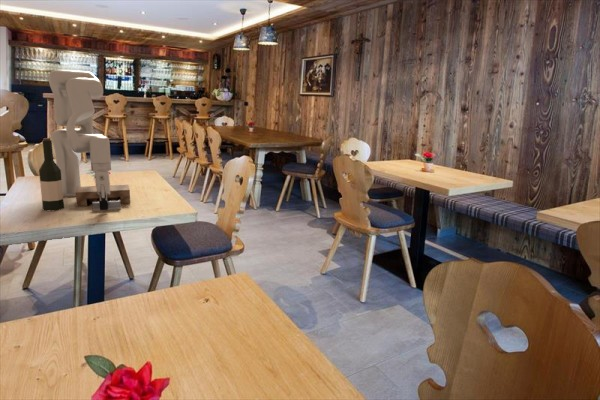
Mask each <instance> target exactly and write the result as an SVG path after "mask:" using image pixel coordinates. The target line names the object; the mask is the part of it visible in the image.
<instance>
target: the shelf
mask: <svg viewBox="0 0 600 400" xmlns="http://www.w3.org/2000/svg"><path fill="white" fill-rule="evenodd" d="M107 199H120V204H121V205H130V204H131V193H130V186H129V184H113V185H111V184H110V194H107ZM94 200H100V195H98V193H97V188H96V185H91V186H90V185H89V186H81V187H77V189H76V196H75V203H76V207H77V208H80V207H88V202H89V203H93V202H94Z"/></svg>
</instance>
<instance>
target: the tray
mask: <svg viewBox="0 0 600 400" xmlns="http://www.w3.org/2000/svg"><path fill="white" fill-rule="evenodd" d="M107 200H108V210H107V211H118V210H119V211H121V209H122V207H121V206H122V204H121V201H120V199H107ZM92 211H93V212H103V211H105V210H100V203H99V200H94V202H92Z"/></svg>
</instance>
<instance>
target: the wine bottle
mask: <svg viewBox="0 0 600 400" xmlns="http://www.w3.org/2000/svg"><path fill="white" fill-rule="evenodd" d="M42 149H43V158H44V160H43V162H42V164H41V166H40V168H39V170H38V175H39V183H40V193H41V203H42V209H44V210H43V211H47V210H54V211H60V210H63V209H65V203H64V197H63V190H62V179H61V170H60V169H59V167H58V166H57V163H56V161H54V153H53V151H54V150H53V142H52V139H51V138H48V137H45V138H44V137H43V140H42ZM59 209H60V210H59Z"/></svg>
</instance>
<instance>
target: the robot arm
mask: <svg viewBox="0 0 600 400" xmlns="http://www.w3.org/2000/svg"><path fill="white" fill-rule="evenodd" d="M48 83H49V87H50V89H51V92H52V94H53V107H54V108H53V109H54V120H55V123H56V125H57V126H60V127H65V128H60V129H59V128H58V129H55V130H54V131H53V132H52V134H51V141H52V146H53V148H54V154H55V163H56V165H57V166H58V167H59V169H60V170H61V179H62V190H63V198H70V197H76V189H77V187H82V186H81V174H80V160H79V156H78V155H77V154H84V153H89V157H90V167H91V168H90V171H92V172H94V178H95V186H96V188H97V193H98V195H100V200H99V203H100V210H104V211H109V210H108V200H107V194H110V185H111V180H110V173H109V172H110V171H111V170H112V162H111V145H110V139H109V137H108V136H107V135H106V136H104V134H102V133H94V129H93V128H94V126H93V125H94V123H93V121H94V119H93V118H94V117H93V115H94V114H95V112H96V111H95V107H94V103H93V100H92V99H101V98H102V97H103V95H104V88H103V85H102V82H101V80H100V79H99V78H98V77H97V76H95V75H94V74H93V73H92V72H90V71H86V70H85V71H84V70H72V69H71V70H70V69H55V70H54V69H53V70H52V71H50V72H49V73H48ZM76 127H80V128H76ZM76 153H77V154H76Z"/></svg>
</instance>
